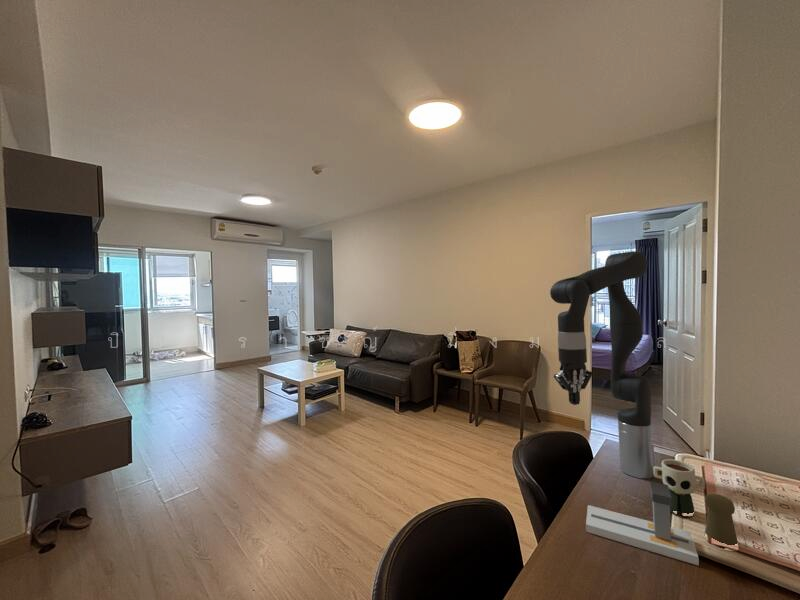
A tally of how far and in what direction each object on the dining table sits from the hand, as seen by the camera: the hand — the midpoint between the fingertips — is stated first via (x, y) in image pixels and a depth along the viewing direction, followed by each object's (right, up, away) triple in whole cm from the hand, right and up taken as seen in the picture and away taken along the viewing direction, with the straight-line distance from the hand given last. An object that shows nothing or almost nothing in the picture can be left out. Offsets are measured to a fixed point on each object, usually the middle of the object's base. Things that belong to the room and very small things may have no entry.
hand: (574, 403), depth 98 cm
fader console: (+8, -29, -15) cm, 33 cm away
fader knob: (+12, -26, -18) cm, 34 cm away
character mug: (+26, -28, -7) cm, 39 cm away
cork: (+26, -28, -19) cm, 42 cm away
